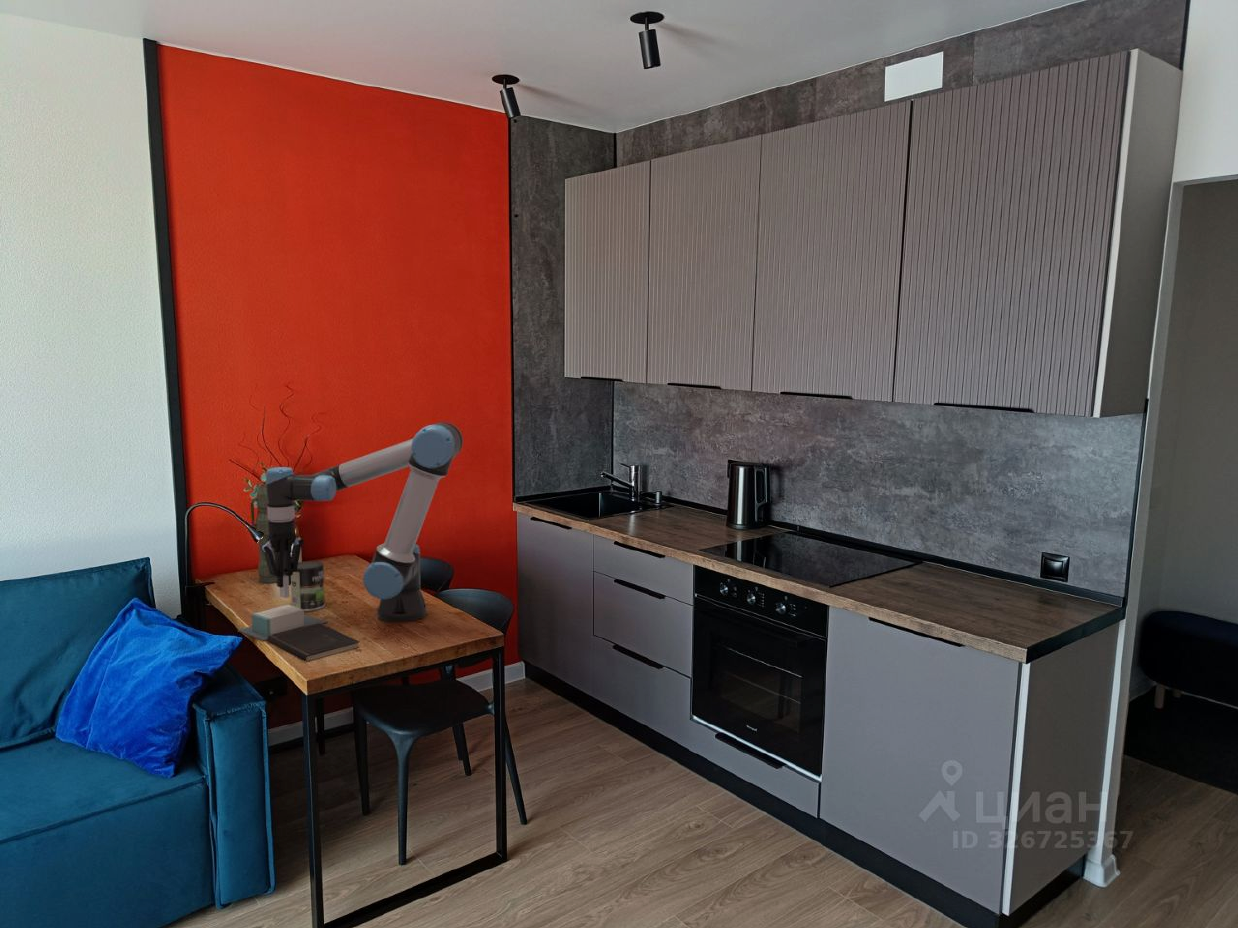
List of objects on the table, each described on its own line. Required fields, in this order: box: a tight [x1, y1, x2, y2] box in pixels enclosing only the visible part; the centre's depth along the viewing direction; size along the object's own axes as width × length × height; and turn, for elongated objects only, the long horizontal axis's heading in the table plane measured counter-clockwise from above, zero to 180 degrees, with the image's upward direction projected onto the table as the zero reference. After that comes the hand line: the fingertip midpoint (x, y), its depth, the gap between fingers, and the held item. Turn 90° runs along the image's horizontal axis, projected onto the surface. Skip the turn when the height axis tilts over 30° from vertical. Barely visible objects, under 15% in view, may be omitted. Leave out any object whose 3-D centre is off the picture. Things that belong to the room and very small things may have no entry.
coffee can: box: [290, 560, 326, 612], centre depth 276 cm, size 10×10×14 cm
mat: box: [237, 613, 328, 642], centre depth 257 cm, size 14×21×1 cm, turn 143°
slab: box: [251, 604, 305, 636], centre depth 254 cm, size 8×5×12 cm
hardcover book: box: [267, 623, 360, 663], centre depth 242 cm, size 16×23×2 cm
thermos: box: [249, 483, 285, 585], centre depth 305 cm, size 9×12×35 cm
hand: (284, 596), depth 255 cm, fingers closed
